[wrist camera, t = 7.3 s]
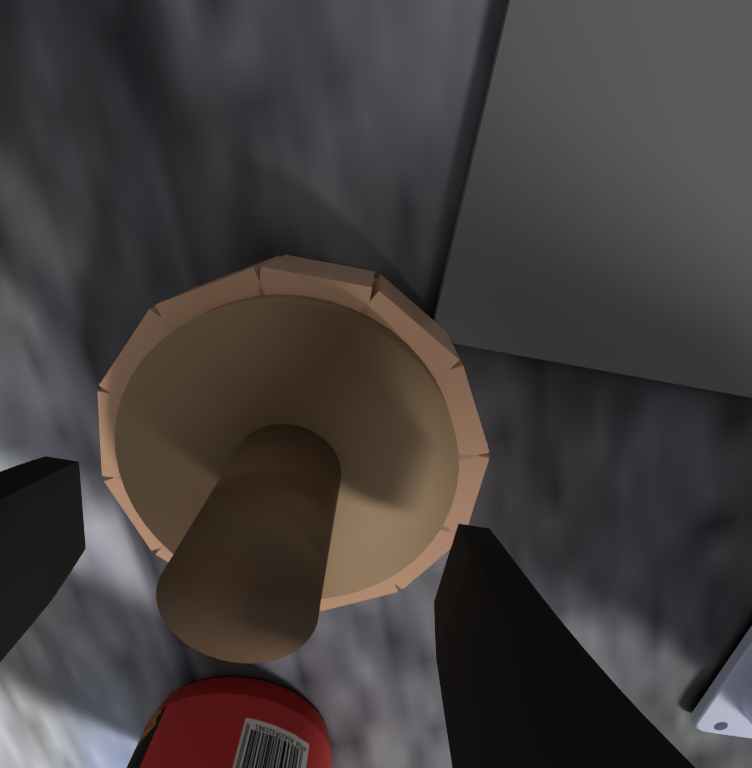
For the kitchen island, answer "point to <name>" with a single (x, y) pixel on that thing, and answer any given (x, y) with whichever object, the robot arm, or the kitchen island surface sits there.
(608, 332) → the mat
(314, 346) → the lid
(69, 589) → the kitchen island surface
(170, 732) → the canned food
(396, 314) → the tan round bowl
